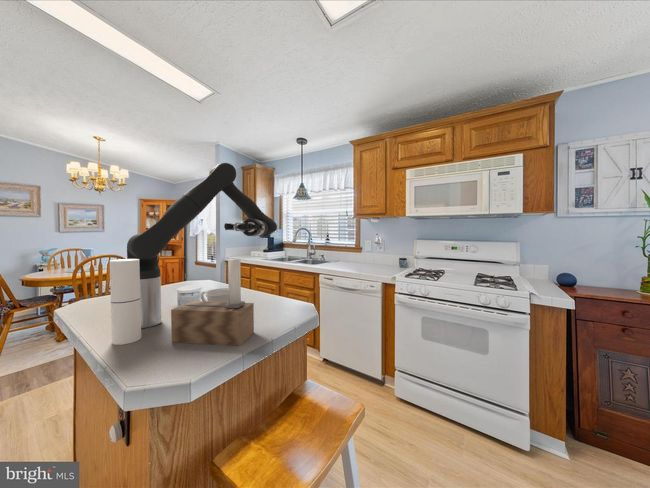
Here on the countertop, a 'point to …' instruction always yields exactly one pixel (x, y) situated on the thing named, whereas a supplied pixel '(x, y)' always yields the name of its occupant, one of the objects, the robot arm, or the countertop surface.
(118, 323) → the cylindrical container
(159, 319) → the robot arm
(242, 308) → the brown rectangular block
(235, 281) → the lever
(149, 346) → the countertop surface
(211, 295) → the teacup
